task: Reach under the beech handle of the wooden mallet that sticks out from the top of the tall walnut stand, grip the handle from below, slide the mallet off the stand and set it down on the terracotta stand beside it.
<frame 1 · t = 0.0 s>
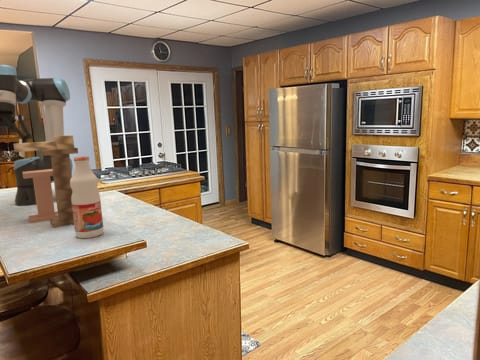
hand: (2, 157, 138), 28 cm above the countertop, tool tilted 20°, fingers open, 13 cm apart
terracotta stand: (46, 218, 155), on the countertop
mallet: (59, 148, 142), point 30 cm above the countertop, touching walnut stand
fruit juice: (90, 235, 130), on the countertop
walnut stand: (68, 222, 147), on the countertop
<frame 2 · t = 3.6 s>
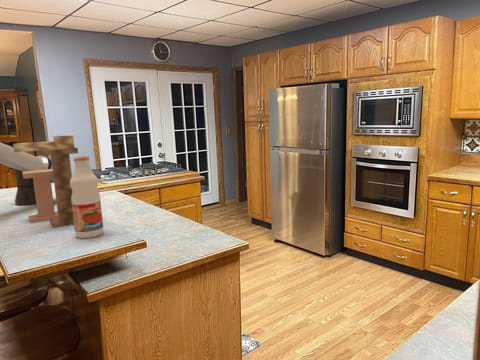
nothing on the countertop moved.
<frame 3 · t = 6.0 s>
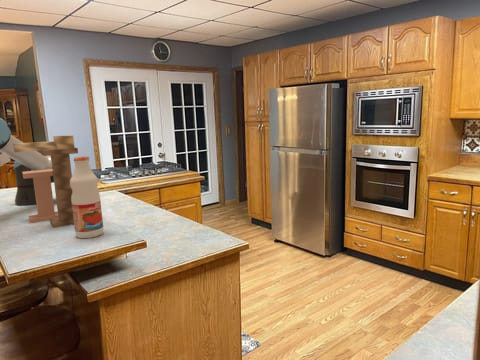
hand: (7, 155, 133), 29 cm above the countertop, tool pointing upward, fingers open, 13 cm apart
nothing on the countertop moved.
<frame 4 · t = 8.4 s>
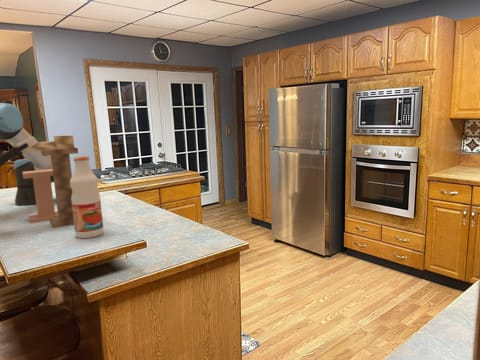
hand: (35, 139, 137), 34 cm above the countertop, tool pointing upward, fingers closed on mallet, 3 cm apart
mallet: (59, 148, 142), point 30 cm above the countertop, touching gripper, walnut stand
everything else where it was.
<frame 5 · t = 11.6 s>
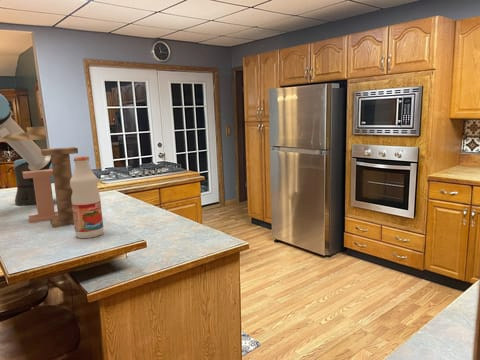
hand: (7, 130, 141), 38 cm above the countertop, tool pointing upward, fingers closed on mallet, 3 cm apart
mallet: (31, 139, 146), point 34 cm above the countertop, touching gripper
everything else where it was.
when the fingers open (26 cm above the countertop, at t = 15.1 s): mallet drops 1 cm, resting on terracotta stand.
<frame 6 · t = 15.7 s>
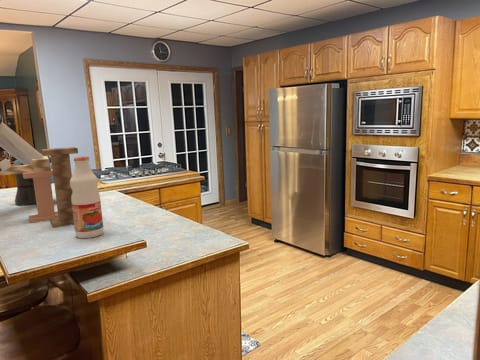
hand: (8, 162, 145), 25 cm above the countertop, tool pointing upward, fingers open, 12 cm apart
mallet: (36, 171, 151), point 20 cm above the countertop, touching terracotta stand
everything else where it was.
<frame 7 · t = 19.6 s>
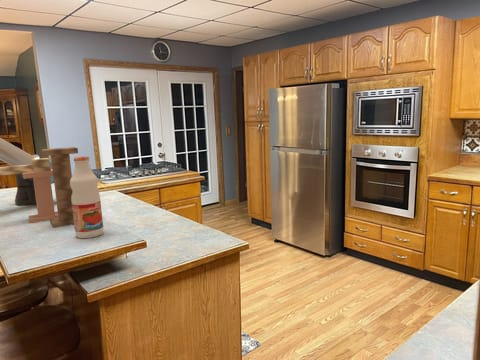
nothing on the countertop moved.
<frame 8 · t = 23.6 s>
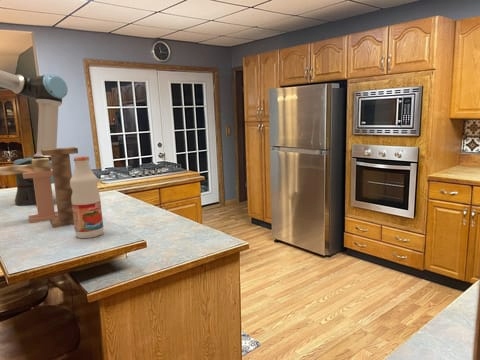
nothing on the countertop moved.
at the end: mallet inside the target area on the terracotta stand (0.0 cm from its centre), point 20.5 cm above the terracotta stand's base; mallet tilted 0°; the gripper is holding nothing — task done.
